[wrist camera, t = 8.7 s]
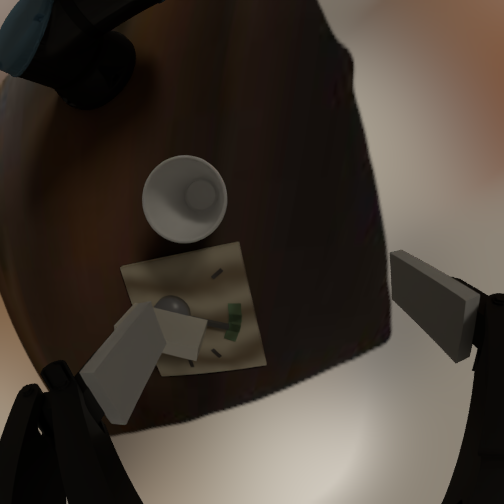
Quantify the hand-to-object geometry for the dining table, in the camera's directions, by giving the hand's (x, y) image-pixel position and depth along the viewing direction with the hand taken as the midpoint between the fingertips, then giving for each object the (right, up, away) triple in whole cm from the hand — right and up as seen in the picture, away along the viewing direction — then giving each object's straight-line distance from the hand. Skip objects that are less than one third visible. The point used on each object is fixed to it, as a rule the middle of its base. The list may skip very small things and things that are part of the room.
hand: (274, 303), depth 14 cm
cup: (-9, +11, +27) cm, 30 cm away
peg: (-12, -8, +30) cm, 33 cm away
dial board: (-11, -8, +31) cm, 34 cm away
